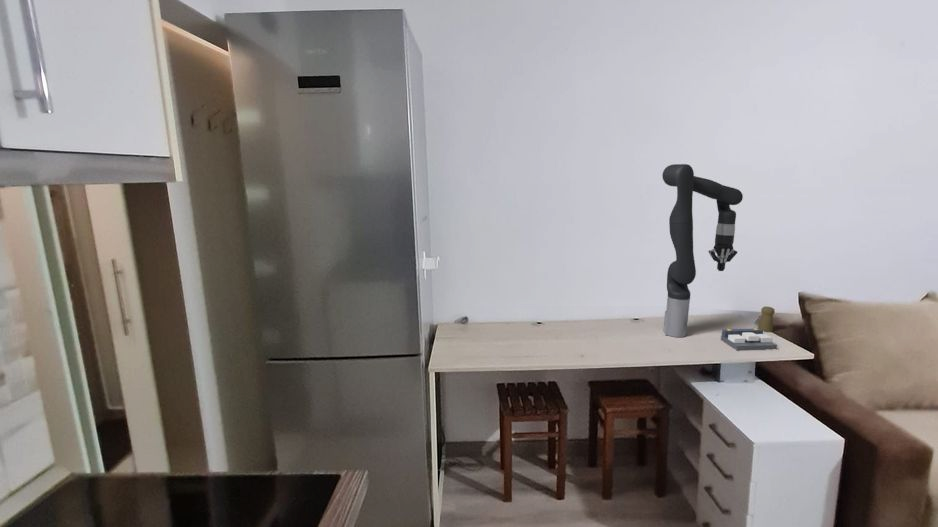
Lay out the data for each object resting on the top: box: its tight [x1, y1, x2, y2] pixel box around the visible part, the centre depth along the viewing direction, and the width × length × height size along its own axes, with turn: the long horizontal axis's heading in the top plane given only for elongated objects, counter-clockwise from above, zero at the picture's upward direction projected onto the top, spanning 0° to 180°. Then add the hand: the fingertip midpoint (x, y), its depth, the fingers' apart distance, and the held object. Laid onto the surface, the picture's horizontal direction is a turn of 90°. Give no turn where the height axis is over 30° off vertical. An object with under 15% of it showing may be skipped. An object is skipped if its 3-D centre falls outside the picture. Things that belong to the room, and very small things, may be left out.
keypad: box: [720, 327, 778, 351], centre depth 212 cm, size 17×12×5 cm
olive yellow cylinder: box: [757, 306, 775, 333], centre depth 229 cm, size 6×6×11 cm
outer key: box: [756, 333, 774, 343], centre depth 211 cm, size 5×5×2 cm
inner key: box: [728, 335, 745, 343], centre depth 210 cm, size 5×5×2 cm
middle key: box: [742, 332, 759, 341], centre depth 211 cm, size 5×5×2 cm
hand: (720, 270), depth 228 cm, fingers closed
